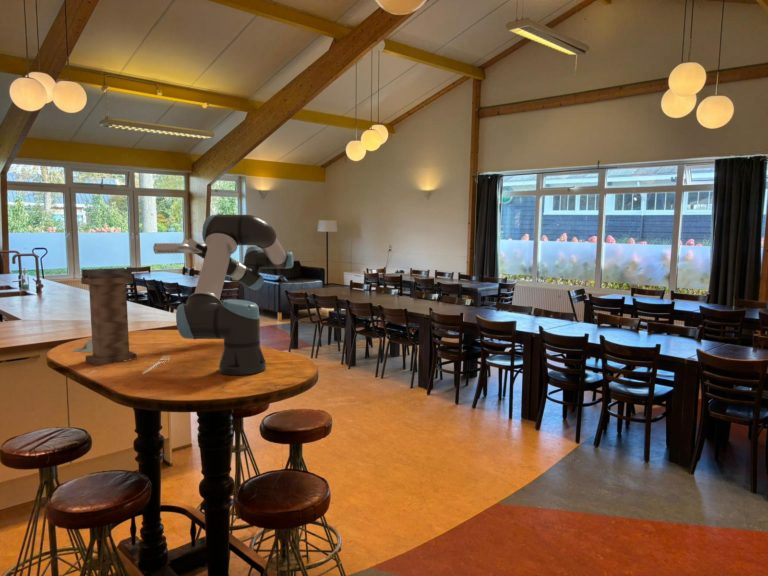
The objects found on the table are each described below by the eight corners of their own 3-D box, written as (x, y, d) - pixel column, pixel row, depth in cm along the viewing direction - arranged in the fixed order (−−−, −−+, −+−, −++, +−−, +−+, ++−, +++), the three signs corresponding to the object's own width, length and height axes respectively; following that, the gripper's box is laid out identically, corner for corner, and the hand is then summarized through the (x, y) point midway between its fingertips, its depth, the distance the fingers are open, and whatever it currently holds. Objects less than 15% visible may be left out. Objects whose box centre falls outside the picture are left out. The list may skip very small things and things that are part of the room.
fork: (137, 376, 173) (137, 370, 172) (162, 360, 192) (161, 355, 192) (147, 376, 173) (147, 370, 172) (171, 360, 192) (170, 355, 192)
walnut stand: (126, 355, 200) (122, 267, 197) (136, 359, 193) (132, 268, 190) (85, 361, 190) (80, 269, 187) (95, 365, 183) (90, 270, 180)
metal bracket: (88, 332, 216) (125, 332, 217) (91, 345, 219) (127, 345, 219) (69, 349, 203) (108, 349, 203) (72, 363, 205) (111, 363, 205)
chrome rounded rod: (201, 252, 220) (201, 242, 220) (206, 253, 218) (206, 243, 217) (153, 253, 206) (153, 243, 206) (157, 254, 203) (157, 243, 203)
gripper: (238, 277, 222) (191, 249, 206) (218, 275, 233) (172, 249, 218) (246, 261, 224) (200, 233, 208) (225, 260, 236) (180, 233, 220)
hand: (186, 241), depth 213 cm, fingers closed on chrome rounded rod, 4 cm apart
